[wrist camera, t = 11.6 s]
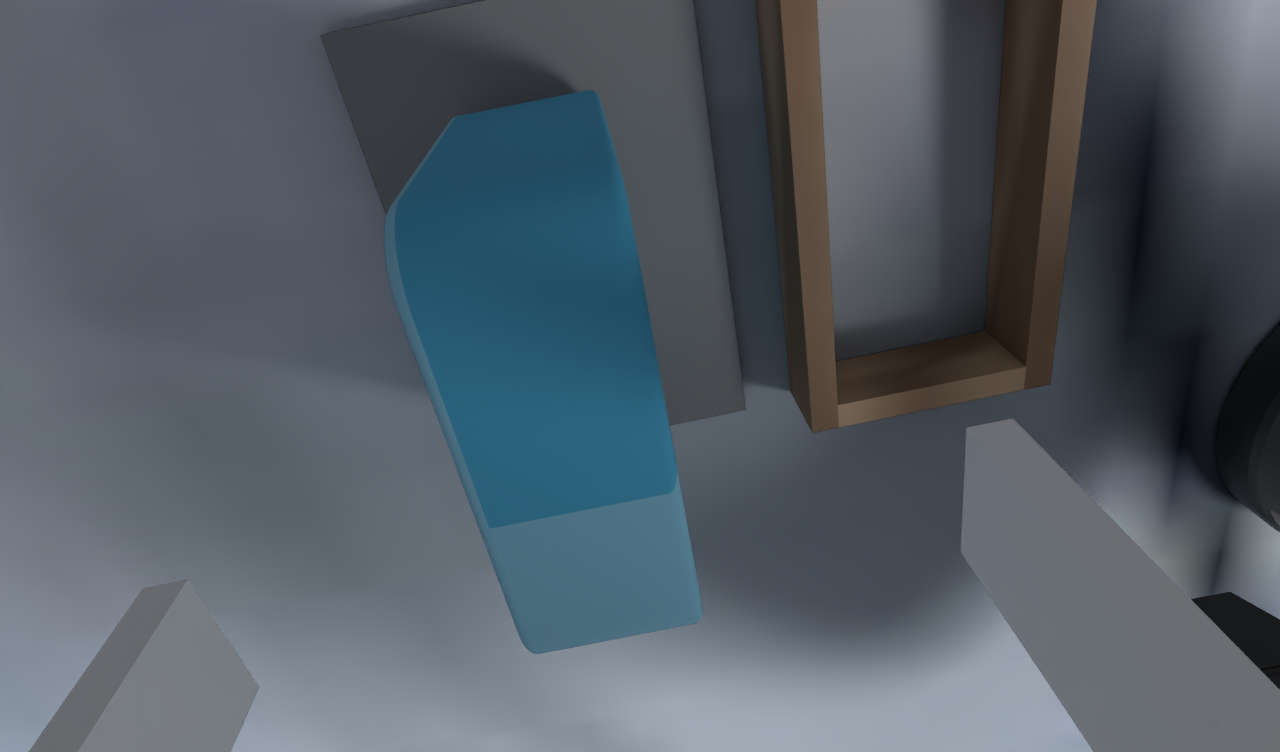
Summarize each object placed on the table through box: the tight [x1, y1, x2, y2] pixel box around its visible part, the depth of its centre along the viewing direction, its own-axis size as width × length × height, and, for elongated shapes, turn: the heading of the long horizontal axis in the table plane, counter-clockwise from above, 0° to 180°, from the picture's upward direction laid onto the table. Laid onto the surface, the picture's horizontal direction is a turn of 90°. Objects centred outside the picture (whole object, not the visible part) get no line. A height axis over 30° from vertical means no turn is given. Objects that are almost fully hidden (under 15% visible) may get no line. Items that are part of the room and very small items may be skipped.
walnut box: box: [755, 0, 1097, 433], centre depth 24 cm, size 9×16×3 cm, turn 10°
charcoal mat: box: [320, 0, 746, 425], centre depth 26 cm, size 11×16×1 cm
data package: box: [384, 90, 703, 654], centre depth 21 cm, size 12×4×12 cm, turn 10°
